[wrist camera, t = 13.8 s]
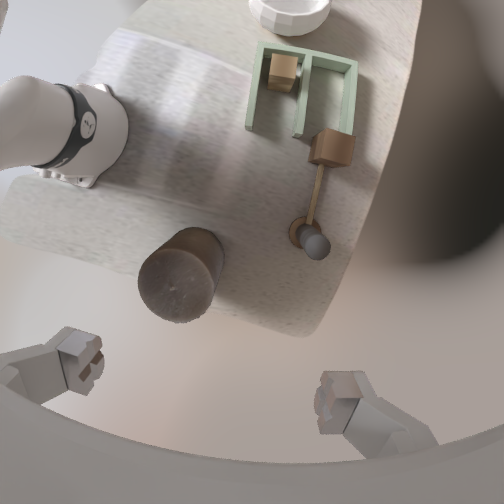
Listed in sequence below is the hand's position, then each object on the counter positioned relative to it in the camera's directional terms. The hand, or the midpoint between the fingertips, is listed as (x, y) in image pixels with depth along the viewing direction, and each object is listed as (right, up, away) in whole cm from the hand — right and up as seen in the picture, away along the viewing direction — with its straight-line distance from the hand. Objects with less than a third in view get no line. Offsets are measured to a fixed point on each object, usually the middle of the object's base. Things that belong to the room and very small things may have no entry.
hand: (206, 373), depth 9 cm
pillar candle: (-8, +3, +38) cm, 39 cm away
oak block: (+6, +31, +30) cm, 44 cm away
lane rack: (+9, +28, +31) cm, 43 cm away
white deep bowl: (+7, +43, +27) cm, 52 cm away
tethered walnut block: (+11, +13, +35) cm, 39 cm away
